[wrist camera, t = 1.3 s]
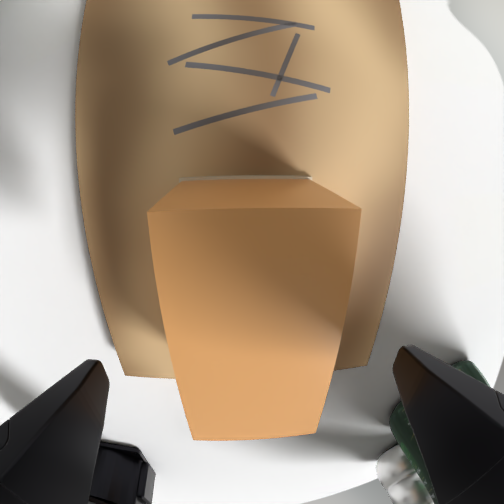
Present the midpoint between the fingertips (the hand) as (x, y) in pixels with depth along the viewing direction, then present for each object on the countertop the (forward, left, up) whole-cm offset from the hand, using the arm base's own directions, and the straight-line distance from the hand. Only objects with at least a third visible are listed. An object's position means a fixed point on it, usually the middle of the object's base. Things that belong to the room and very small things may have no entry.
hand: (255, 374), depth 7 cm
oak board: (0, +5, -7) cm, 9 cm away
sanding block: (0, 0, -5) cm, 5 cm away
